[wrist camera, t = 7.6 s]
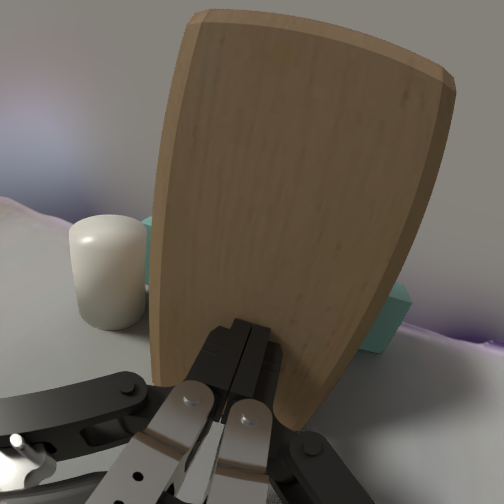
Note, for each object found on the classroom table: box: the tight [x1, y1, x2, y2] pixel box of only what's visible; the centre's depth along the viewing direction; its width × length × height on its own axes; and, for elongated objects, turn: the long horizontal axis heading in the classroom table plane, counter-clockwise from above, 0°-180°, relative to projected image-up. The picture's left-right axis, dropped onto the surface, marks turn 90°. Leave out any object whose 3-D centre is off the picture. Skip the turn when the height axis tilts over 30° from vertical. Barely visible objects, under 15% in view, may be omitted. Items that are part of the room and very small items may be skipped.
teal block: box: [141, 216, 412, 354], centre depth 24 cm, size 24×3×6 cm, turn 77°
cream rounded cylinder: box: [69, 215, 147, 330], centre depth 20 cm, size 6×6×7 cm
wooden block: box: [149, 9, 456, 431], centre depth 15 cm, size 10×10×20 cm
